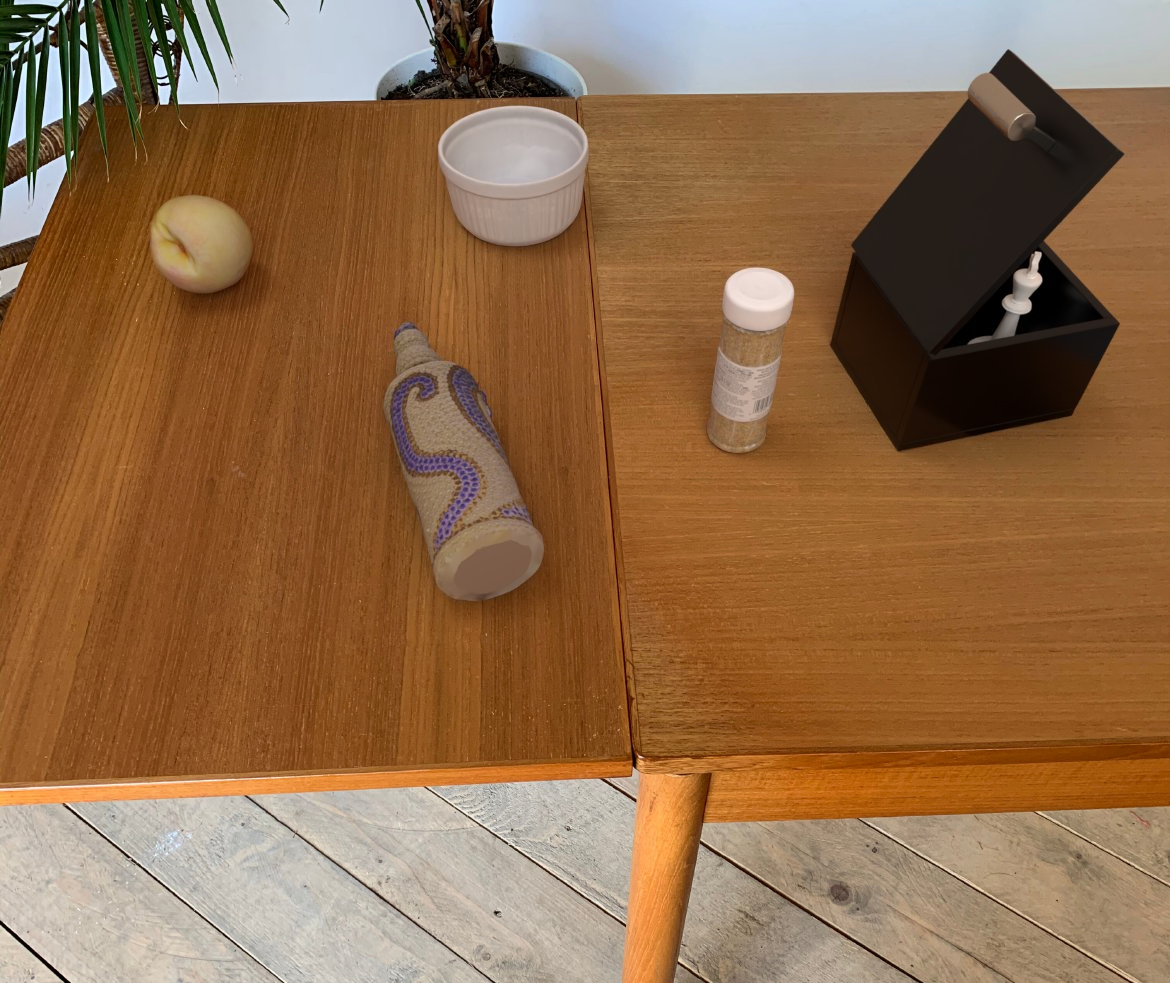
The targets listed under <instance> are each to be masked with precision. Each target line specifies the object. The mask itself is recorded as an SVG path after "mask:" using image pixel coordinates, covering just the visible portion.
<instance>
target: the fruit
mask: <svg viewBox="0 0 1170 983" xmlns="http://www.w3.org/2000/svg"><path fill="white" fill-rule="evenodd" d="M155 213H156V214H155V215H154V217H153V219H152V221H151V224H150V229H149V253H150V256H151V260H152V263H153V265H154V267H155V268H156V270H157V271H158V272H159V273H160V275H162V277H163V278H164V279H165V280H166V281H167V282H169V283H170V284H171V285H173V286H175V287H176V288H177V289H180V290H183V291H186V292H189V293H193V294H214V293H217V292H221V291H223V290H225V289H228V288H230V287H233V286H234V285H236V284H237V283H238V282H239V281H241V279H242V278H243V277H244V275H245V273H246V272H247V270H248V268H249V266H250V263H251V261H252V260H251V259H252V256H253V252H254V240H253V236H252V233H251V230H250V228H249V226H248V224H247V223H246V221H245V219H244V218H243V216H241V215H240V213H239V212H238V211H237V210H235V209H234V208H233V207H231V206H230V205H228V204H227V203H225V202H223V201H221V200H219V199H217V198H214V197H210V196H205V195H201V194H188V195H181V196H175V197H173V198H170V199H169V200H167V201H165V202H164V203H163V204H161V205H160V207H159V208H158V210H157V211H156V212H155Z"/></svg>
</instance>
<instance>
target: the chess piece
mask: <svg viewBox="0 0 1170 983" xmlns="http://www.w3.org/2000/svg"><path fill="white" fill-rule="evenodd" d="M1040 258H1041V252H1035V253H1034V254H1032V255H1031V257H1030V265H1029V267H1028V269H1020V270H1018V271H1016V272H1015V273H1014V276H1013V294H1010V295H1007V296H1006V297H1005V298H1004V299H1003V301H1002V306H1003V307H1004V308H1005V309H1006V310H1007V312H1006V313H1005V315H1004V317H1003V319H1002V321H1001V323H1000V324H999V326H998V328H997V329H996V331H995V333H994V334H993V336H982V337H978V338H975V339H973V340H971V341H970V342H969V343H968V344H973V343H979V342H984V341H989V340H994V339H1000V338H1005V337H1010V336H1014V335H1015V331H1016V327H1017V323H1018V320H1019V317H1020V314H1026V313H1028V312H1029V311H1030V310H1031V306H1032V304H1031V301H1030V300H1029V299H1028V298H1029V297H1030V296H1031V294H1032V293H1033V292H1034V291H1035V290H1036V289H1037V288H1038V287H1039V286H1040V284H1041V283H1042V277H1041V275H1040V274H1039V273H1038V272H1037V270H1038V263H1039V260H1040ZM968 344H967V345H968Z"/></svg>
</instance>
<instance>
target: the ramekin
mask: <svg viewBox="0 0 1170 983" xmlns="http://www.w3.org/2000/svg"><path fill="white" fill-rule="evenodd" d="M589 151H590V148H589V139H588V135H587V134H586V132H585V130H584V129H583V128H582V126H581V125H580V124H579V123H578V122H577V121H575V120H574V119H573V118H571V117H569V116H568V115H566V114H563V113H561V112H559V111H556V110H552V109H549V108H545V107H540V106H539V107H538V106H531V105H505V106H497V107H491V108H486V109H482V110H479V111H476V112H473V113H470V114H468V115H466V116H464V117H462V118H460V119H458V120H456V121H455V122H454V123H452V124H451V125H450V126H449V127H448V128H446V129H445V131H444V132H443V133H442V134H441V136H440V138H439V141H438V145H437V157H438V165H439V168H440V170H441V172H442V174H443V175H444V178H445V182H446V187H447V190H448V194H449V198H450V202H451V206H452V209H453V212H454V214H455V216H456V218H457V220H458V221H459V223H460V224H461V226H462V227H464V228H465V229H466V230H467V231H468V232H469V233H470V234H472V235H473V236H474V237H476V238H477V239H479V240H482V241H484V242H486V243H489V244H493V245H497V246H503V247H527V246H533V245H538V244H542V243H545V242H547V241H550V240H552V239H554V238H556V237H558V236H560V235H561V234H563V233H564V232H565V231H566V230H567V229H568V228H569V227H570V226H571V224H573V222H574V221H575V220H576V218H577V216H578V214H579V212H580V210H581V206H582V199H583V193H584V186H585V178H586V177H585V175H586V168H587V166H588V162H589V157H590V152H589Z"/></svg>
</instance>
